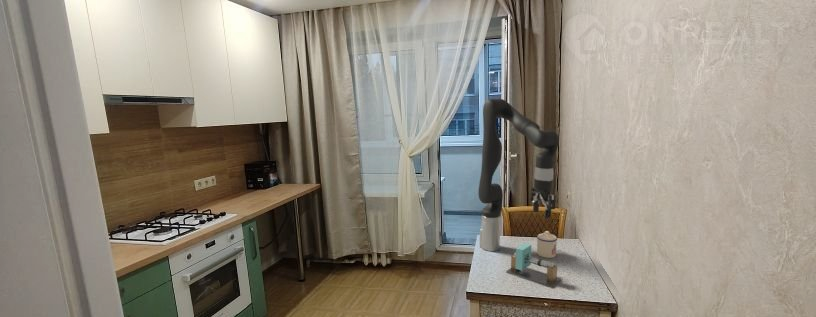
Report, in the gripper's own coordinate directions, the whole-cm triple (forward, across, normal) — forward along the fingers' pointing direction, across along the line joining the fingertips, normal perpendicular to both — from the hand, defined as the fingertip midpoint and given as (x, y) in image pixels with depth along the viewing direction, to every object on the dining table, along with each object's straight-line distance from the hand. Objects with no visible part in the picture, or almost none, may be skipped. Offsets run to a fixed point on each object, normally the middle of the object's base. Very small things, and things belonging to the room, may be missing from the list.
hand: (541, 214), depth 155 cm
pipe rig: (+25, +4, -6) cm, 26 cm away
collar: (+22, +1, -8) cm, 24 cm away
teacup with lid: (+26, -15, +14) cm, 33 cm away
